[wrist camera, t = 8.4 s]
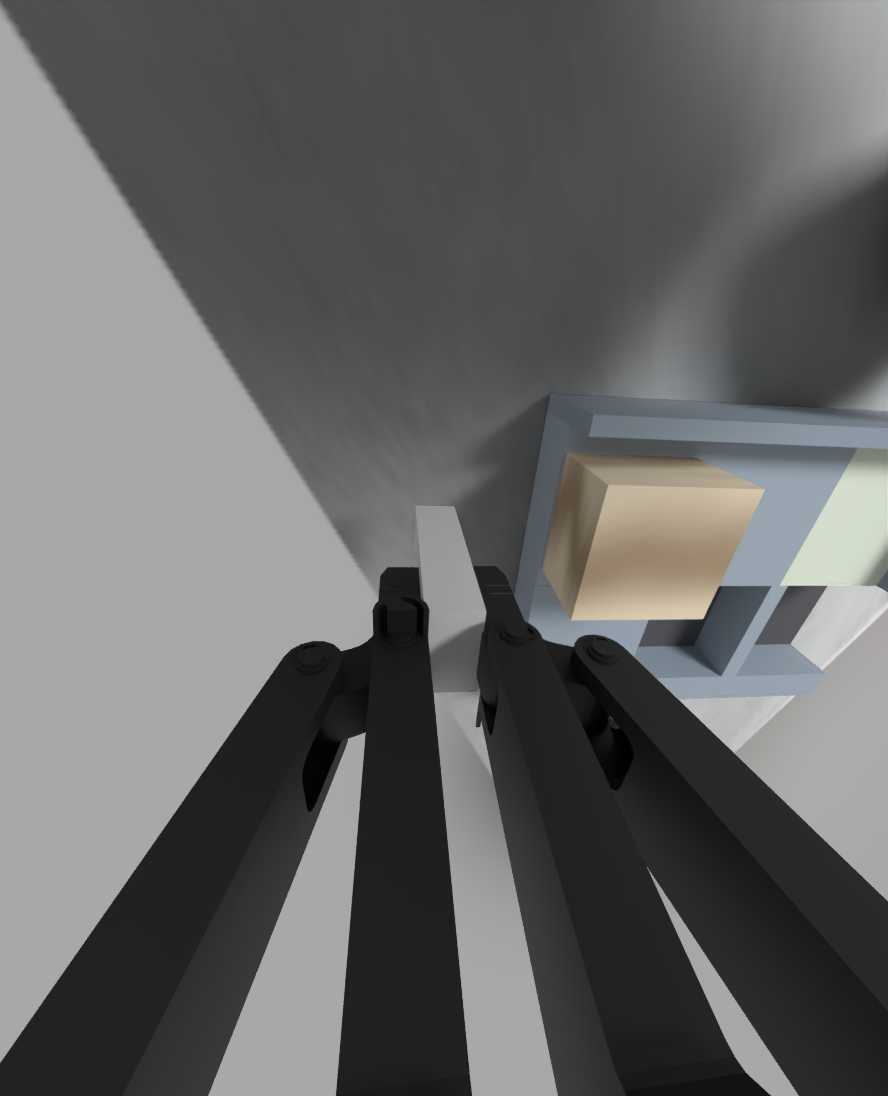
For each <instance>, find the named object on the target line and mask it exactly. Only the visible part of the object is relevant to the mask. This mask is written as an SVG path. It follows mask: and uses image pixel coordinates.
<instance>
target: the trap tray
mask: <svg viewBox="0 0 888 1096" xmlns="http://www.w3.org/2000/svg"><path fill="white" fill-rule="evenodd" d="M567 453H592V454H619V455H646V456H673V457H696V458H698V459H700V460H702V461H704V462H707V463H709V464H711V465H713V466H715V467H717V468H720V469H722V470H724V471H726V472H728V473H731V474H733V475H735V476H737V477H739V478H741V479H744V480H746V481H748V482H750V483H752V484H755V485H757V486H759V487H761V488H763V489H765V491H764V493H763V495H762V497H761V500H760V502H759V504H758V506H757V508H756V510H755V512H754V514H753V516H752V518H751V520H750V522H749V525H748V527H747V529H746V531H745V533H744V535H743V537H742V539H741V541H740V543H739V545H738V547H737V550H736V552H735V554H734V556H733V558H732V560H731V562H730V564H729V566H728V568H727V570H726V572H725V575H724V577H723V579H722V581H721V583H720V585H719V587H718V589H717V591H716V593H715V595H714V597H713V600H712V602H711V604H710V606H709V608H708V610H707V612H706V614H705V616H704V618H703V619H674V620H570V618H569V616H568V614H567V613H566V611H565V609H564V607H563V605H562V604H561V602H560V600H559V598H558V597H557V595H556V593H555V591H554V589H553V588H552V586H551V584H550V582H549V581H548V579H547V577H546V575H545V573H544V572H543V570H542V568H543V564H544V559H545V554H546V549H547V545H548V540H549V535H550V531H551V526H552V521H553V517H554V512H555V507H556V503H557V498H558V493H559V489H560V484H561V479H562V475H563V470H564V465H565V461H566V456H567ZM827 586H878V587H880V588H882V589H884V590H885V591H887V592H888V411H870V410H851V409H832V408H813V407H794V406H775V405H756V404H738V403H719V402H700V401H681V400H662V399H643V398H624V397H606V396H587V395H568V394H550V397H549V403H548V408H547V414H546V420H545V425H544V431H543V436H542V442H541V447H540V453H539V459H538V464H537V470H536V475H535V481H534V487H533V492H532V498H531V503H530V509H529V514H528V520H527V526H526V531H525V537H524V542H523V548H522V553H521V559H520V565H519V570H518V576H517V581H516V587H515V592H514V597H515V599H516V602H517V604H518V607H519V609H520V611H521V614H522V616H523V618H524V621H525V622H528V623H530V624H531V625H532V626H534V627H535V628H536V629H537V630H538V631H539V633H540V634H541V636H542V638H543V639H545V640H547V641H550V642H553V643H557V644H562V645H567V646H572V647H574V644H575V642H576V641H577V639H578V638H579V637H582V636H584V635H594V634H595V635H600V636H605V637H607V638H610V639H612V640H614V641H616V642H618V643H619V644H620V645H622V646H623V647H624V648H625V649H626V650H627V651H628V652H629V653H631V654H632V655H633V656H634V657H635V658H636V659H637V660H638V661H639V662H640V663H641V664H642V665H643V666H644V667H645V668H646V669H647V670H648V671H649V672H650V673H651V674H652V675H653V676H654V677H655V678H656V679H657V680H659V681H660V682H661V683H662V684H663V685H664V686H665V687H666V688H667V689H668V690H669V691H670V692H671V693H672V694H673V695H674V696H675V697H676V698H677V699H696V698H727V697H758V696H788V695H810V694H811V693H812V692H813V691H814V689H815V688H816V687H817V685H818V684H819V682H820V681H821V680H822V678H823V677H824V676H825V673H824V672H823V671H822V670H821V669H819V668H818V667H817V666H816V665H815V664H813V663H812V662H811V661H810V660H809V659H807V658H806V657H805V656H804V655H803V654H801V653H800V652H799V651H798V650H797V649H795V648H794V647H793V646H792V645H791V642H792V640H793V639H794V637H795V636H796V634H797V633H798V631H799V629H800V628H801V626H802V625H803V623H804V622H805V620H806V619H807V617H808V615H809V614H810V612H811V611H812V609H813V608H814V606H815V604H816V603H817V601H818V600H819V598H820V597H821V595H822V594H823V592H824V590H825V589H826V587H827Z"/></svg>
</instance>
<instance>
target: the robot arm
mask: <svg viewBox="0 0 888 1096" xmlns="http://www.w3.org/2000/svg"><path fill="white" fill-rule="evenodd" d="M373 634H374V635H373V636H372V637H371V638H370V639H369V640H368V641H367V642H365V643H364V644H362V645H360V646H358V647H355V648H352V649H349V650H345V651H340V650H339V649H338V648H337V647H336V646H335V645H334V644H331V643H328V642H324V641H312V642H309V643H304V644H301V645H299V646H297V647H295V648H293V649H291V651H289V652H288V653H287V654H286V655H285V656H284V658H283V659H282V661H281V662H280V663H279V665H278V666H277V668H276V669H275V670H274V672H273V673H272V675H271V676H270V678H269V679H268V681H267V682H266V683H265V685H264V686H263V688H262V689H261V690H260V692H259V693H258V695H257V696H256V698H255V699H254V700H253V702H252V703H251V705H250V706H249V708H248V709H247V710H246V712H245V713H244V715H243V716H242V718H241V719H240V721H239V722H238V724H237V725H236V727H235V728H234V729H233V731H232V732H231V733H230V735H229V736H228V738H227V739H226V741H225V742H224V743H223V745H222V746H221V748H220V749H219V751H218V752H217V754H216V755H215V757H214V758H213V759H212V761H211V762H210V763H209V765H208V766H207V768H206V769H205V771H204V772H203V773H202V775H201V776H200V778H199V779H198V781H197V782H196V784H195V785H194V787H193V788H192V789H191V791H190V792H189V794H188V795H187V796H186V798H185V799H184V801H183V802H182V804H181V805H180V806H179V808H178V809H177V811H176V812H175V814H174V815H173V816H172V818H171V819H170V821H169V822H168V824H167V825H166V826H165V828H164V829H163V831H162V832H161V834H160V835H159V837H158V838H157V840H156V841H155V842H154V844H153V845H152V847H151V848H150V850H149V851H148V852H147V854H146V855H145V857H144V858H143V860H142V861H141V863H140V864H139V865H138V867H137V868H136V870H135V871H134V872H133V874H132V875H131V877H130V878H129V879H128V881H127V882H126V884H125V885H124V887H123V888H122V890H121V891H120V892H119V894H118V895H117V897H116V898H115V900H114V901H113V902H112V904H111V905H110V907H109V908H108V910H107V911H106V912H105V914H104V916H103V917H102V918H101V920H100V921H99V923H98V924H97V925H96V927H95V928H94V930H93V931H92V932H91V934H90V935H89V937H88V938H87V940H86V941H85V943H84V944H83V945H82V947H81V948H80V950H79V951H78V953H77V954H76V955H75V957H74V958H73V960H72V961H71V963H70V964H69V966H68V967H67V968H66V970H65V971H64V973H63V974H62V976H61V977H60V978H59V980H58V981H57V983H56V984H55V986H54V987H53V988H52V990H51V991H50V993H49V994H48V995H47V997H46V998H45V1000H44V1001H43V1003H42V1004H41V1006H40V1007H39V1009H38V1010H37V1011H36V1013H35V1014H34V1016H33V1017H32V1018H31V1020H30V1021H29V1023H28V1024H27V1026H26V1027H25V1029H24V1030H23V1031H22V1033H21V1034H20V1036H19V1037H18V1038H17V1040H16V1041H15V1043H14V1044H13V1046H12V1047H11V1049H10V1050H9V1052H8V1053H7V1054H6V1056H5V1057H4V1059H3V1060H2V1061H1V1063H0V1096H208V1094H209V1092H210V1089H211V1087H212V1084H213V1082H214V1079H215V1077H216V1074H217V1072H218V1069H219V1066H220V1064H221V1061H222V1059H223V1056H224V1054H225V1051H226V1049H227V1046H228V1044H229V1041H230V1038H231V1036H232V1034H233V1031H234V1029H235V1026H236V1023H237V1021H238V1018H239V1016H240V1013H241V1011H242V1008H243V1006H244V1003H245V1001H246V998H247V995H248V993H249V991H250V988H251V985H252V983H253V980H254V978H255V975H256V972H257V970H258V968H259V965H260V963H261V960H262V957H263V955H264V953H265V950H266V947H267V945H268V942H269V940H270V937H271V935H272V932H273V930H274V927H275V925H276V922H277V920H278V917H279V915H280V912H281V909H282V907H283V904H284V902H285V899H286V897H287V894H288V892H289V889H290V887H291V884H292V882H293V879H294V877H295V874H296V871H297V869H298V866H299V864H300V861H301V859H302V856H303V854H304V851H305V849H306V846H307V843H308V841H309V839H310V836H311V833H312V831H313V828H314V826H315V823H316V821H317V818H318V816H319V813H320V811H321V808H322V806H323V803H324V801H325V798H326V795H327V793H328V790H329V788H330V785H331V783H332V780H333V778H334V775H335V773H336V770H337V767H338V765H339V763H340V760H341V758H342V755H343V752H344V750H345V747H346V745H347V742H348V738H351V737H354V736H357V735H359V734H362V733H365V732H366V736H365V749H364V761H363V773H362V787H361V798H360V810H359V823H358V835H357V846H356V859H355V871H354V884H353V895H352V907H351V919H350V932H349V944H348V956H347V968H346V980H345V993H344V1005H343V1017H342V1030H341V1043H340V1054H339V1067H338V1078H337V1090H336V1096H472V1091H471V1082H470V1074H469V1063H468V1054H467V1053H468V1052H467V1041H466V1031H465V1020H464V1010H463V999H462V989H461V978H460V967H459V957H458V947H457V936H456V925H455V916H454V904H453V894H452V883H451V873H450V862H449V852H448V841H447V830H446V821H445V809H444V799H443V790H442V789H443V788H442V778H441V767H440V757H439V747H438V736H437V725H436V714H435V704H434V693H435V692H464V691H476V684H477V678H478V683H479V687H480V697H479V704H478V711H477V718H476V727H480V724H481V721H482V726H483V731H484V735H485V740H486V745H487V750H488V755H489V760H490V765H491V770H492V775H493V780H494V784H495V789H496V794H497V799H498V804H499V808H500V814H501V819H502V824H503V828H504V833H505V838H506V843H507V848H508V852H509V857H510V862H511V867H512V873H513V877H514V882H515V887H516V891H517V897H518V902H519V907H520V912H521V917H522V921H523V926H524V931H525V936H526V941H527V946H528V951H529V956H530V961H531V965H532V970H533V975H534V980H535V985H536V990H537V995H538V1000H539V1004H540V1010H541V1015H542V1019H543V1024H544V1029H545V1034H546V1039H547V1044H548V1049H549V1054H550V1059H551V1064H552V1068H553V1073H554V1078H555V1083H556V1088H557V1092H558V1096H771V1095H769V1094H768V1093H767V1092H766V1091H765V1090H764V1089H763V1088H762V1087H761V1086H760V1085H759V1084H758V1083H756V1082H755V1081H754V1080H753V1079H752V1078H751V1077H750V1076H749V1075H748V1074H747V1073H746V1072H745V1071H744V1070H743V1068H742V1067H741V1065H740V1064H739V1063H738V1061H737V1059H736V1058H735V1057H734V1055H733V1053H732V1051H731V1049H730V1047H729V1045H728V1043H727V1041H726V1039H725V1038H724V1035H723V1033H722V1031H721V1029H720V1027H719V1024H718V1022H717V1020H716V1018H715V1016H714V1014H713V1011H712V1009H711V1007H710V1005H709V1002H708V1000H707V998H706V996H705V994H704V991H703V989H702V987H701V985H700V983H699V981H698V978H697V976H696V974H695V972H694V970H693V967H692V965H691V963H690V961H689V958H688V956H687V954H686V952H685V950H684V948H683V945H682V943H681V941H680V939H679V937H678V935H677V932H676V930H675V928H674V926H673V923H672V922H671V919H670V917H669V915H668V912H667V910H666V908H665V906H664V904H663V902H662V899H661V897H660V895H659V893H658V891H657V888H656V886H655V884H654V882H653V880H652V877H651V875H650V873H649V871H648V869H649V870H650V872H651V873H652V875H653V876H654V878H655V879H656V881H657V882H658V884H659V885H660V887H661V888H662V890H663V891H664V893H665V894H666V896H667V897H668V899H669V900H670V902H671V903H672V905H673V906H674V908H675V909H676V911H677V912H678V914H679V915H680V917H681V918H682V920H683V921H684V923H685V924H686V926H687V927H688V929H689V931H690V932H691V933H692V935H693V937H694V938H695V939H696V941H697V943H698V944H699V945H700V947H701V949H702V950H703V952H704V953H705V955H706V956H707V958H708V959H709V961H710V962H711V964H712V965H713V967H714V968H715V970H716V971H717V973H718V974H719V976H720V977H721V978H722V980H723V982H724V983H725V985H726V986H727V988H728V989H729V991H730V992H731V994H732V995H733V997H734V998H735V1000H736V1001H737V1003H738V1004H739V1006H740V1007H741V1009H742V1011H743V1012H744V1014H745V1015H746V1017H747V1018H748V1020H749V1021H750V1023H751V1024H752V1026H753V1027H754V1029H755V1030H756V1032H757V1033H758V1035H759V1036H760V1038H761V1039H762V1041H763V1042H764V1044H765V1045H766V1047H767V1048H768V1050H769V1051H770V1053H771V1054H772V1056H773V1057H774V1059H775V1060H776V1062H777V1063H778V1065H779V1066H780V1068H781V1069H782V1071H783V1072H784V1074H785V1075H786V1077H787V1078H788V1080H789V1081H790V1083H791V1084H792V1086H793V1087H794V1089H795V1090H796V1092H797V1094H798V1095H799V1096H888V901H887V900H886V899H885V898H884V897H883V896H882V895H880V894H879V893H878V892H877V891H876V890H875V889H874V888H873V887H872V886H871V885H870V884H869V883H868V882H867V881H866V880H865V879H864V878H863V877H862V876H861V875H860V874H859V873H857V871H856V870H855V869H853V868H852V867H851V866H850V865H849V864H848V863H847V862H846V861H845V860H844V859H843V858H842V857H841V856H840V855H839V854H838V853H837V852H836V851H835V850H834V849H833V848H832V847H831V846H830V845H828V843H827V842H825V841H824V840H823V839H822V838H821V837H820V836H819V835H818V834H817V833H816V832H815V831H814V830H813V829H812V828H811V827H810V826H809V825H808V824H807V823H806V822H805V821H804V820H803V819H802V818H800V816H799V815H797V814H796V813H795V812H794V811H793V810H792V809H791V808H790V807H789V806H788V805H787V804H786V803H785V802H784V801H783V800H782V799H781V798H780V797H779V796H778V795H777V794H775V792H774V791H773V790H772V789H771V788H769V787H768V786H767V785H766V784H765V783H764V782H763V781H762V780H761V779H760V778H759V777H758V776H757V775H756V774H755V773H754V772H753V771H752V770H751V769H750V768H749V767H748V766H747V765H746V764H745V763H743V762H742V761H741V760H740V759H739V758H738V757H737V756H736V755H735V754H734V753H733V752H732V751H731V750H730V749H729V748H728V747H727V746H726V745H725V744H724V743H723V742H722V741H721V740H720V739H719V738H718V737H717V736H716V735H715V734H713V733H712V732H711V731H710V730H709V729H708V728H707V727H706V726H705V725H704V724H703V723H702V722H701V721H700V720H699V719H698V718H697V717H696V716H695V715H694V714H693V713H692V712H691V711H690V710H689V709H688V708H687V707H685V706H684V705H683V704H682V703H681V702H680V701H679V700H678V699H677V698H676V697H675V696H674V695H673V694H672V693H671V692H670V691H669V690H668V689H667V688H666V687H665V686H664V685H663V684H662V683H661V682H660V681H659V680H657V679H656V678H655V677H654V676H653V675H652V674H651V673H650V672H649V671H648V670H647V669H646V668H645V667H644V666H643V665H642V664H641V663H640V662H639V661H638V660H637V659H636V658H635V657H634V656H633V655H632V654H631V653H629V652H628V651H627V650H626V649H625V648H624V647H623V646H622V645H620V644H619V643H618V642H616V641H614V640H612V639H610V638H607V637H605V636H600V635H595V634H594V635H584V636H582V637H579V638H578V639H577V641H576V642H575V644H574V647H572V646H567V645H562V644H557V643H553V642H550V641H547V640H545V639H543V638H542V636H541V634H540V633H539V631H538V630H537V629H536V628H535V627H534V626H532V625H531V624H530V623H528V622H525V621H524V618H523V616H522V614H521V611H520V609H519V607H518V604H517V602H516V599H515V597H514V595H513V594H512V590H511V588H510V586H509V583H508V581H507V578H506V576H505V574H503V573H502V572H501V571H500V570H499V569H498V568H497V567H495V566H472V562H471V559H470V556H469V553H468V549H467V546H466V543H465V540H464V536H463V533H462V530H461V526H460V523H459V520H458V517H457V513H456V510H455V507H454V506H416V508H415V544H414V567H388V568H387V569H386V570H385V571H384V572H383V574H382V575H381V576H380V588H379V601H378V602H377V603H376V604H375V606H374V609H373ZM613 720H614V721H615V722H614V721H613ZM647 867H648V869H647Z"/></svg>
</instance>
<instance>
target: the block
mask: <svg viewBox="0 0 888 1096" xmlns="http://www.w3.org/2000/svg"><path fill="white" fill-rule="evenodd" d="M764 491H765V489H763V488H761V487H759V486H757V485H755V484H752V483H750V482H748V481H746V480H744V479H741V478H739V477H737V476H735V475H733V474H731V473H728V472H726V471H724V470H722V469H720V468H717V467H715V466H713V465H711V464H709V463H707V462H704V461H702V460H700V459H698V458H696V457H673V456H646V455H619V454H592V453H567V456H566V461H565V465H564V470H563V475H562V479H561V484H560V489H559V493H558V498H557V503H556V507H555V512H554V517H553V521H552V526H551V531H550V535H549V540H548V545H547V549H546V554H545V559H544V564H543V568H542V570H543V572H544V573H545V575H546V577H547V579H548V581H549V582H550V584H551V586H552V588H553V589H554V591H555V593H556V595H557V597H558V598H559V600H560V602H561V604H562V605H563V607H564V609H565V611H566V613H567V614H568V616H569V618H570V620H674V619H703V618H704V616H705V614H706V612H707V610H708V608H709V606H710V604H711V602H712V600H713V597H714V595H715V593H716V591H717V589H718V587H719V585H720V583H721V581H722V579H723V577H724V575H725V572H726V570H727V568H728V566H729V564H730V562H731V560H732V558H733V556H734V554H735V552H736V550H737V547H738V545H739V543H740V541H741V539H742V537H743V535H744V533H745V531H746V529H747V527H748V525H749V522H750V520H751V518H752V516H753V514H754V512H755V510H756V508H757V506H758V504H759V502H760V500H761V497H762V495H763V493H764Z"/></svg>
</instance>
